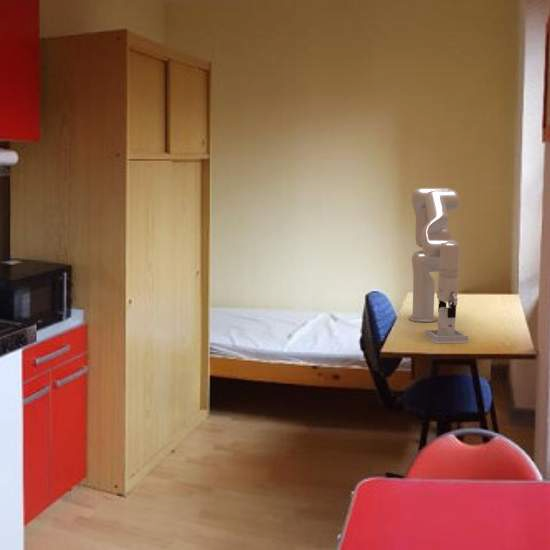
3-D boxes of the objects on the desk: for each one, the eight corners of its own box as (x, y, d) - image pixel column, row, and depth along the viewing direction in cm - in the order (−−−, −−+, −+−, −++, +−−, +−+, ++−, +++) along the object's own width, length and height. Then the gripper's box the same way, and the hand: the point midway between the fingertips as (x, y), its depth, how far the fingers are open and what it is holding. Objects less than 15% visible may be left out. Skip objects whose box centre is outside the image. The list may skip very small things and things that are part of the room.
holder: (425, 336, 322) (425, 330, 321) (455, 335, 324) (455, 329, 324) (437, 343, 309) (437, 337, 309) (468, 342, 311) (468, 335, 311)
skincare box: (436, 337, 316) (437, 308, 315) (440, 335, 320) (441, 306, 319) (452, 339, 313) (453, 309, 312) (455, 337, 317) (456, 308, 316)
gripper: (431, 270, 321) (430, 311, 323) (447, 276, 304) (446, 320, 307) (449, 269, 322) (447, 310, 325) (466, 276, 305) (464, 319, 308)
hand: (446, 315), depth 316 cm, fingers open, 9 cm apart
